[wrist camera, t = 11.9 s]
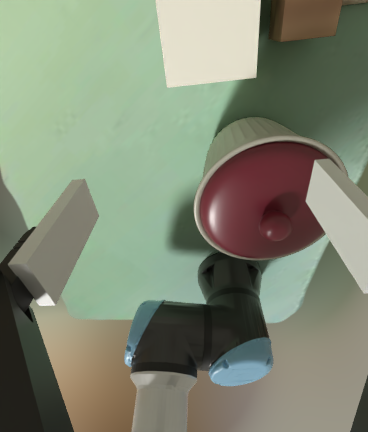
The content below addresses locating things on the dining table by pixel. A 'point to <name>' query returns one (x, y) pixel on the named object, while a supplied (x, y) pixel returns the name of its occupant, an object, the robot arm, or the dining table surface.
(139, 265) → the dining table surface
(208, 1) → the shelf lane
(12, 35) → the dining table surface
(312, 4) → the block with cord
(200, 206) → the canister
